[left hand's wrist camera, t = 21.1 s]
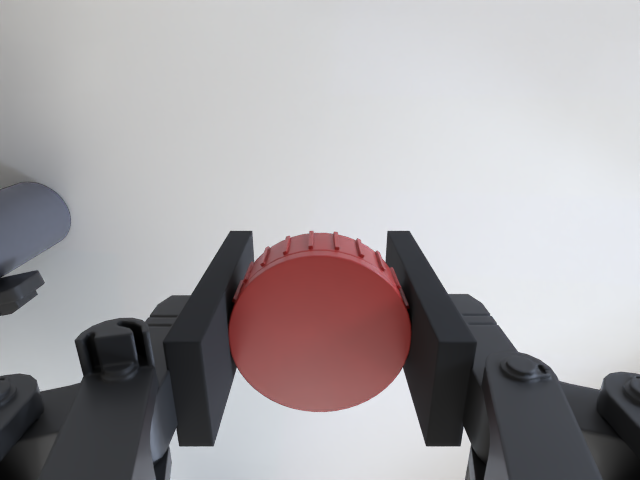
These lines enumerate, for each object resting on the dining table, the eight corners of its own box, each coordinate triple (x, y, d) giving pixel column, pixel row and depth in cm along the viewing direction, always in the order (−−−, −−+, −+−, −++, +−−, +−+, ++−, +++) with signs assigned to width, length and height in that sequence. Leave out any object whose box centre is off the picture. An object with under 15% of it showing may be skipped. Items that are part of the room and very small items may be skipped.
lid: (340, 399, 13) (343, 440, 12) (207, 327, 12) (190, 361, 11) (436, 287, 12) (454, 318, 10) (294, 196, 11) (290, 214, 9)
